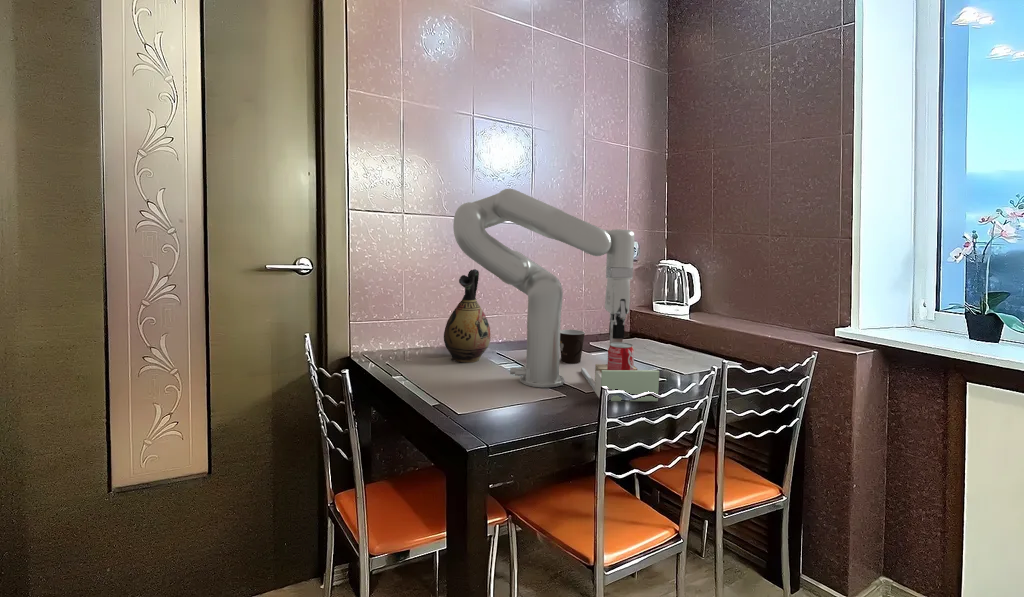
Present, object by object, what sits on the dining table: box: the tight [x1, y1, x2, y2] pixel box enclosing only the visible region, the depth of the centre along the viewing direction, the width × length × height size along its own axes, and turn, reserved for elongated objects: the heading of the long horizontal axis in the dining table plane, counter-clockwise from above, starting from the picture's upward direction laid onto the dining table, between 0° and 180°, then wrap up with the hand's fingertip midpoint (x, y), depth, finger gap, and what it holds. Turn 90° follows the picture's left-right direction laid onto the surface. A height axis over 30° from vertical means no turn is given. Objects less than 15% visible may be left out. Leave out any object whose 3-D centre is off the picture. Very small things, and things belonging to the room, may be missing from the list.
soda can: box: [607, 341, 635, 370], centre depth 157 cm, size 7×7×13 cm
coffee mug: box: [560, 329, 586, 365], centre depth 187 cm, size 12×9×10 cm
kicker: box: [594, 320, 638, 381], centre depth 163 cm, size 11×6×18 cm, turn 93°
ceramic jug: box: [443, 269, 492, 364], centre depth 188 cm, size 17×15×30 cm
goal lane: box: [580, 367, 660, 402], centre depth 162 cm, size 15×29×8 cm, turn 3°
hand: (616, 336), depth 163 cm, fingers closed on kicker, 3 cm apart
